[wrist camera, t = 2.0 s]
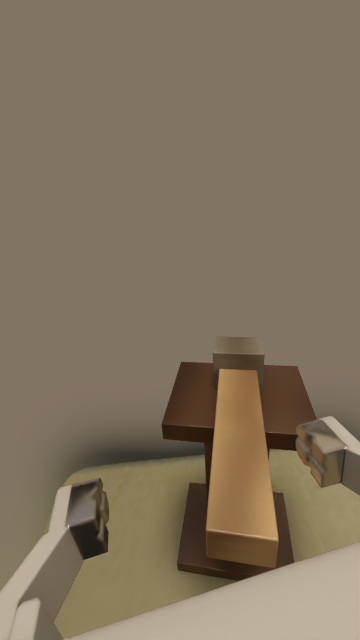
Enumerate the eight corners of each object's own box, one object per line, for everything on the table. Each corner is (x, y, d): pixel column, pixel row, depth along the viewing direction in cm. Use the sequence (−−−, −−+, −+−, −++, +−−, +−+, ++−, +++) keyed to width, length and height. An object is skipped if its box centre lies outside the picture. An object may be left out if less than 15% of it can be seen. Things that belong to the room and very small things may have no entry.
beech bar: (195, 556, 13) (192, 505, 12) (215, 366, 28) (215, 333, 26) (288, 571, 12) (295, 518, 11) (259, 368, 27) (260, 334, 25)
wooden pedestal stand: (177, 570, 28) (161, 423, 21) (190, 489, 36) (181, 361, 29) (296, 590, 26) (323, 436, 19) (282, 499, 34) (297, 366, 27)
